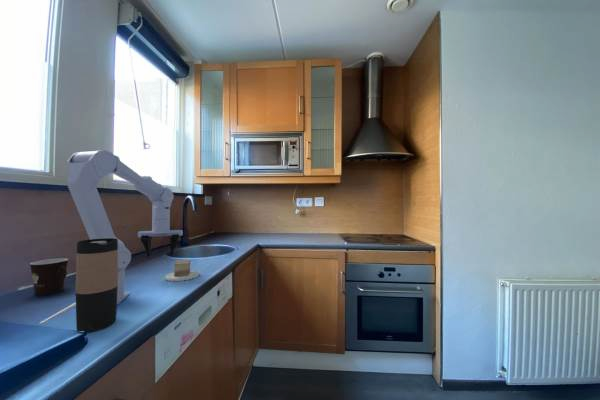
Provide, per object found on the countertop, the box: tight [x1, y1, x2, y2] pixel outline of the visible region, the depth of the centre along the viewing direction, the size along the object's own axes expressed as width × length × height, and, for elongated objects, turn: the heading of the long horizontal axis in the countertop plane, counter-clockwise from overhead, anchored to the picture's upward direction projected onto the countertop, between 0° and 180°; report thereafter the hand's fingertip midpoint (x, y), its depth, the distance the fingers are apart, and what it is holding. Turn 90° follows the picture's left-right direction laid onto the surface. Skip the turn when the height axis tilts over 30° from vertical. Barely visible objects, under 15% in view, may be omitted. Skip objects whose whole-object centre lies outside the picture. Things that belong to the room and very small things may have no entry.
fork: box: [39, 301, 76, 324], centre depth 68 cm, size 3×20×2 cm, turn 6°
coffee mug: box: [29, 257, 69, 297], centre depth 78 cm, size 12×9×10 cm
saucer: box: [164, 269, 200, 282], centre depth 95 cm, size 12×12×1 cm
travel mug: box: [75, 238, 119, 334], centre depth 57 cm, size 8×8×20 cm
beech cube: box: [173, 259, 191, 277], centre depth 95 cm, size 5×5×5 cm
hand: (160, 255), depth 91 cm, fingers open, 7 cm apart
